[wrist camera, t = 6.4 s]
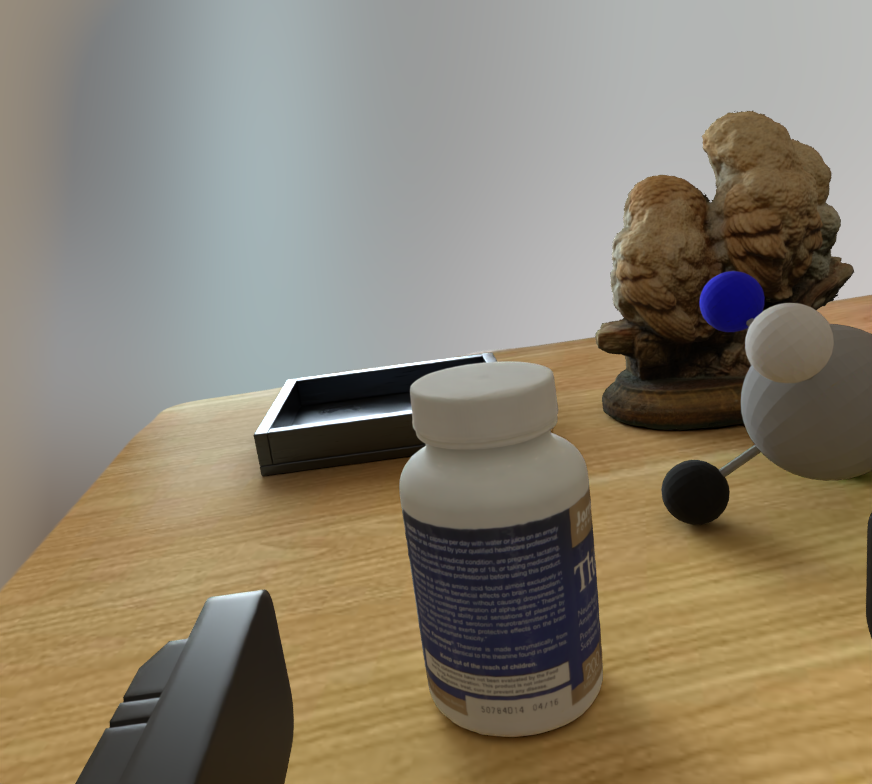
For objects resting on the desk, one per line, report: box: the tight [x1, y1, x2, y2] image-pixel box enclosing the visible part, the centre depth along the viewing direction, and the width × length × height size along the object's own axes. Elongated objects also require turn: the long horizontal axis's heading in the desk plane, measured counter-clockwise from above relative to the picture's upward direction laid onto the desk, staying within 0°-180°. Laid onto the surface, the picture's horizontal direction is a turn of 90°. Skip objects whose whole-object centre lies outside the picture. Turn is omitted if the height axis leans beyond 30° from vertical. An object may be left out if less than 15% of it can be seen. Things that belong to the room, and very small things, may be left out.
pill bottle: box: [399, 362, 603, 737], centre depth 22 cm, size 5×5×10 cm
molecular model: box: [662, 271, 872, 525], centre depth 30 cm, size 11×13×10 cm
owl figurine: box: [595, 111, 854, 430], centre depth 47 cm, size 18×12×17 cm, turn 112°
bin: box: [254, 353, 497, 476], centre depth 51 cm, size 16×14×3 cm
